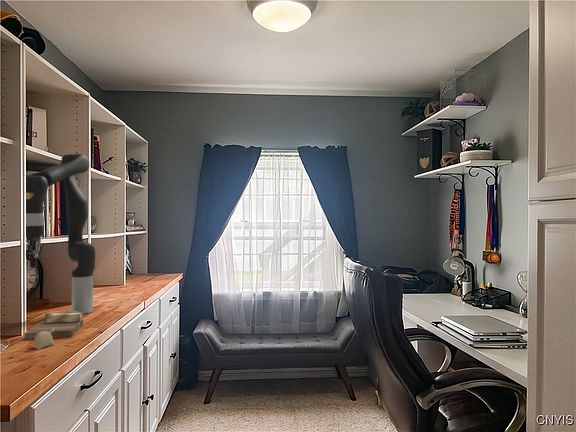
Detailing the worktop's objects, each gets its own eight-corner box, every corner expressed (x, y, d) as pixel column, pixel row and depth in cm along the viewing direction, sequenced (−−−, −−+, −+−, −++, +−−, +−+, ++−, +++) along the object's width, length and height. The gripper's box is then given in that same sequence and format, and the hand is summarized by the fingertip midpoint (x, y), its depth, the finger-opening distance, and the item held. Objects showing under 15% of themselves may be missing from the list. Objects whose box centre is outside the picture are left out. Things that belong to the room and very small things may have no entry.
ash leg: (43, 322, 182) (43, 314, 182) (46, 321, 185) (46, 313, 185) (79, 321, 184) (79, 313, 184) (82, 319, 187) (82, 312, 187)
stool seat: (42, 327, 186) (42, 312, 186) (83, 324, 190) (83, 310, 190) (24, 339, 167) (24, 323, 167) (71, 337, 170) (71, 321, 170)
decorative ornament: (29, 348, 156) (29, 333, 156) (51, 342, 163) (51, 327, 163) (38, 350, 154) (38, 334, 154) (59, 343, 162) (59, 328, 162)
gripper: (31, 224, 190) (32, 265, 190) (15, 225, 177) (15, 269, 177) (50, 224, 191) (50, 265, 191) (35, 224, 177) (35, 269, 177)
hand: (33, 267), depth 184 cm, fingers closed
